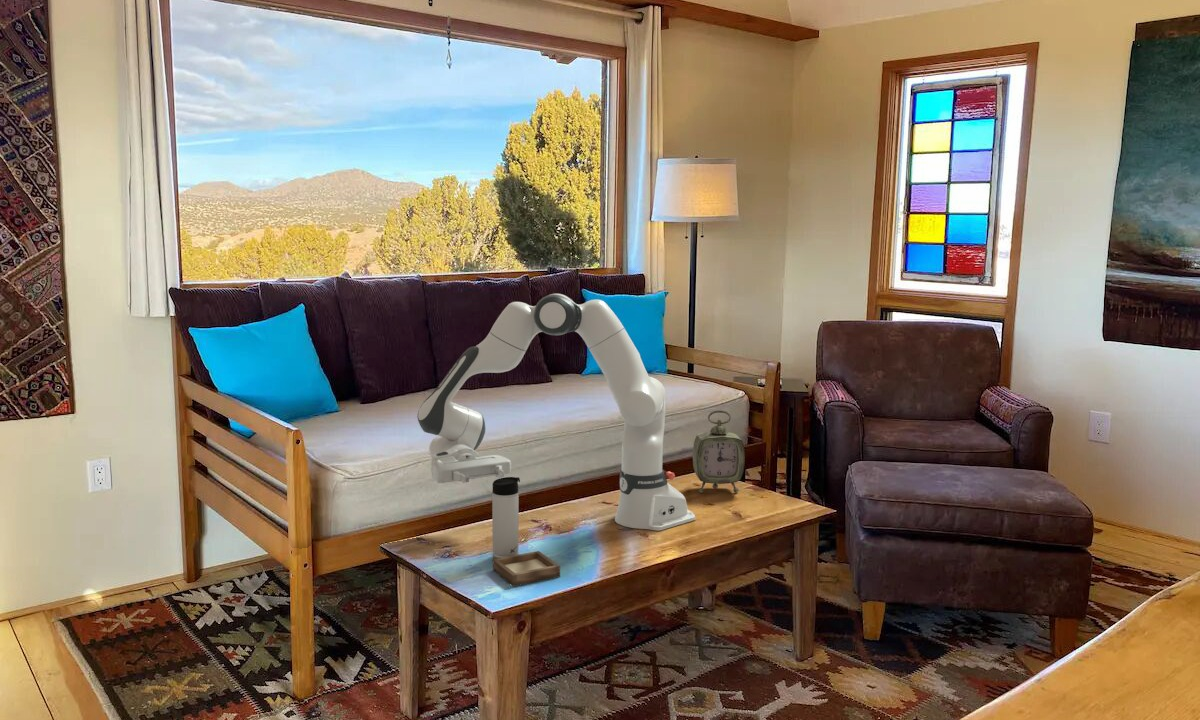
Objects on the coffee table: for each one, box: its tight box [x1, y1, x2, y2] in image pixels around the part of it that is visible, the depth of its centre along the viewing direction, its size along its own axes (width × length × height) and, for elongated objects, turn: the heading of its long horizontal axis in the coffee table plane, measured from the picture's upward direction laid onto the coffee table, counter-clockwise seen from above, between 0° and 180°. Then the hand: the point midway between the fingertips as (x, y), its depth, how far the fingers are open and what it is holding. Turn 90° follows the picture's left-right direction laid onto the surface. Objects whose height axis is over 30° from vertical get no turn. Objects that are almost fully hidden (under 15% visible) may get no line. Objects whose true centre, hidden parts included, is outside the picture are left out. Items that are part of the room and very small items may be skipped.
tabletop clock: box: [692, 410, 746, 494], centre depth 282 cm, size 14×9×25 cm, turn 95°
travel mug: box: [491, 476, 521, 560], centre depth 224 cm, size 6×7×20 cm
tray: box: [492, 550, 561, 587], centre depth 216 cm, size 12×11×3 cm
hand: (484, 476), depth 233 cm, fingers open, 8 cm apart
